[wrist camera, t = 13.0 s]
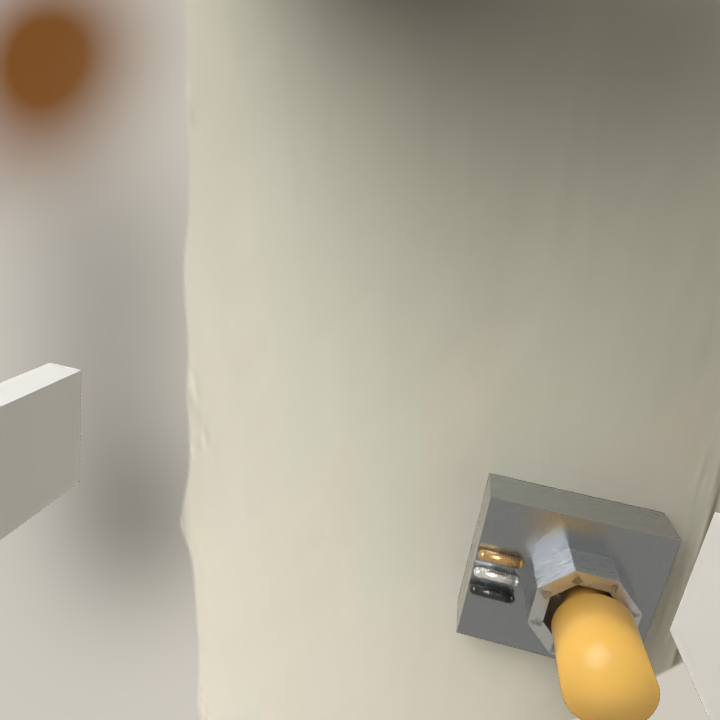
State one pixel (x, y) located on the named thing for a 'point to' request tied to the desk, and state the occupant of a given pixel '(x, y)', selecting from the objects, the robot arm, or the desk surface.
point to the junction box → (557, 560)
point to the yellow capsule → (602, 658)
